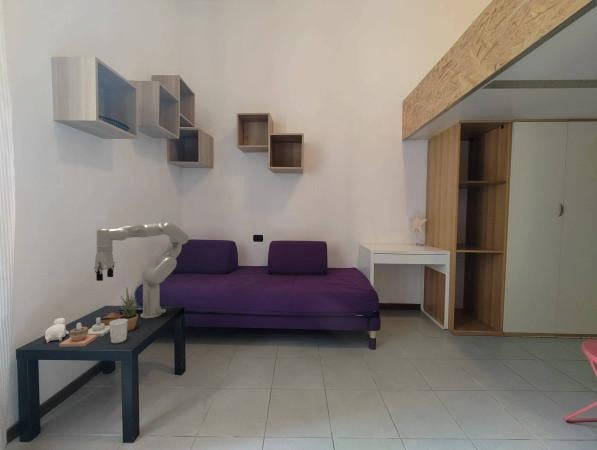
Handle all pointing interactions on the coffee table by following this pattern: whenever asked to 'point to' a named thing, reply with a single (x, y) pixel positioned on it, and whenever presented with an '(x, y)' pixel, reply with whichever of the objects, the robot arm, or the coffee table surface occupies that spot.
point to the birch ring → (78, 332)
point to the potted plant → (129, 311)
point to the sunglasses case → (109, 318)
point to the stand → (99, 328)
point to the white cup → (118, 330)
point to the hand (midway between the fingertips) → (105, 278)
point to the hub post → (78, 339)
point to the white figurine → (56, 330)
